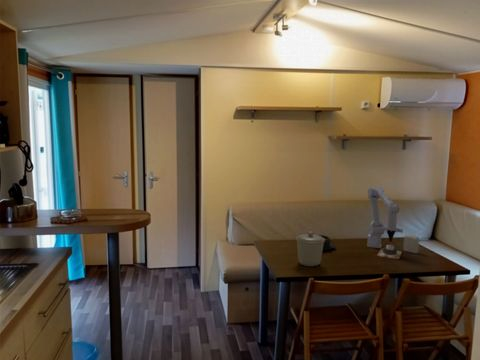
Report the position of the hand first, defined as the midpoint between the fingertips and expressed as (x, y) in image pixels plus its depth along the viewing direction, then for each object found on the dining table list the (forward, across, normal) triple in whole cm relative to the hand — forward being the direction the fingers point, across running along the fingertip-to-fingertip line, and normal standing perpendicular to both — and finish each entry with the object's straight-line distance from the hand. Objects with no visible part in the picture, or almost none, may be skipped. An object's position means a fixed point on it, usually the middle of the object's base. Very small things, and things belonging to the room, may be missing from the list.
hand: (390, 241), depth 286 cm
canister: (+10, -42, -50) cm, 66 cm away
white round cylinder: (+8, 0, 0) cm, 8 cm away
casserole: (+10, -47, -13) cm, 50 cm away
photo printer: (+10, +12, +15) cm, 22 cm away
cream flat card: (+9, 0, 0) cm, 9 cm away
